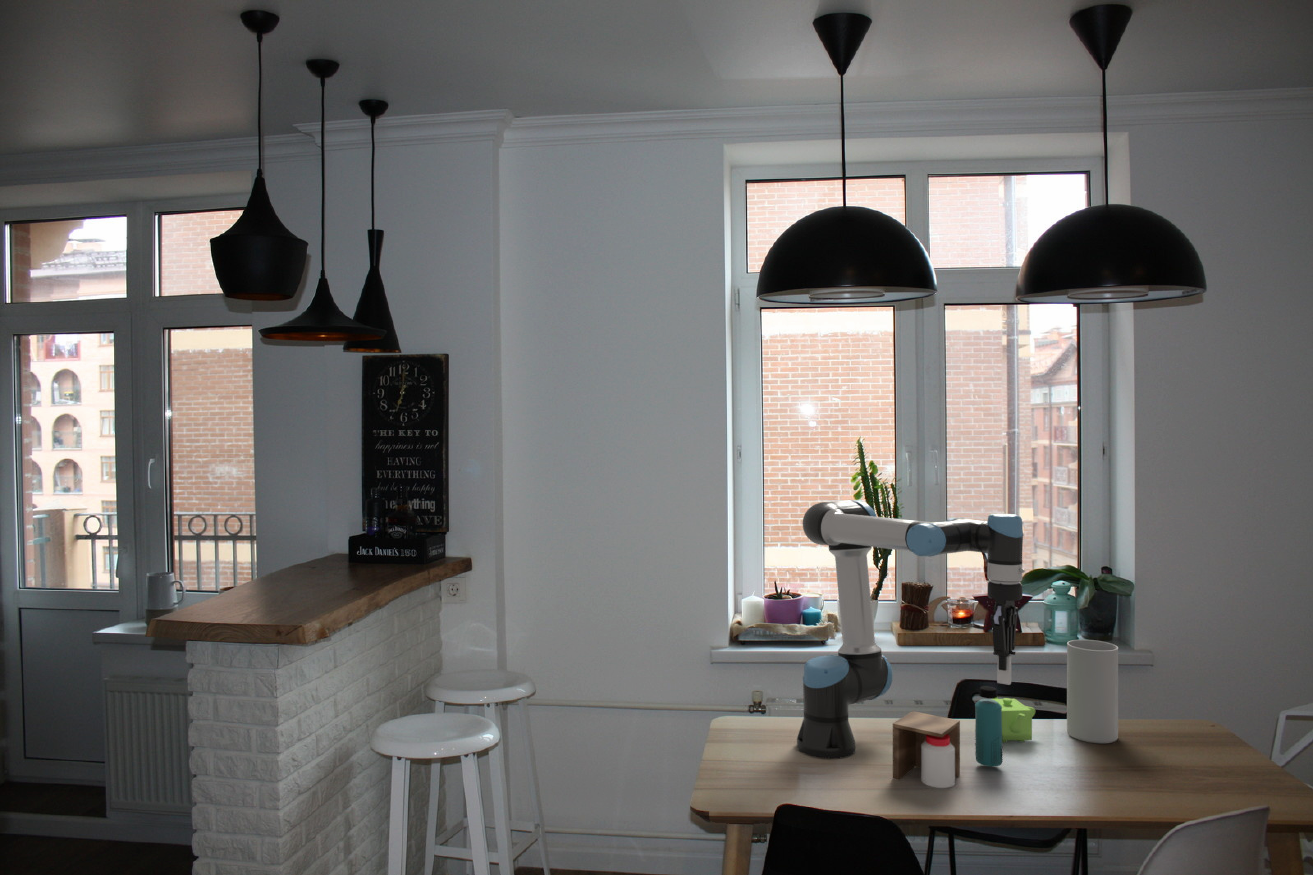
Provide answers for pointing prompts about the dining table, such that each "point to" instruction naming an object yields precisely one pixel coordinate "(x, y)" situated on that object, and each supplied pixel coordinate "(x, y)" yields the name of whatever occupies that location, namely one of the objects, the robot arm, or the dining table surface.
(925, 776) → the pill bottle
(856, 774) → the dining table surface
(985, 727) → the beverage bottle
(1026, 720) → the teapot
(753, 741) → the dining table surface
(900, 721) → the awning shelf
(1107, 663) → the cylinder vase
